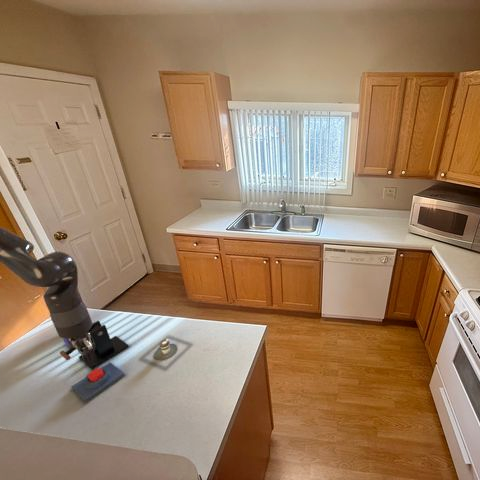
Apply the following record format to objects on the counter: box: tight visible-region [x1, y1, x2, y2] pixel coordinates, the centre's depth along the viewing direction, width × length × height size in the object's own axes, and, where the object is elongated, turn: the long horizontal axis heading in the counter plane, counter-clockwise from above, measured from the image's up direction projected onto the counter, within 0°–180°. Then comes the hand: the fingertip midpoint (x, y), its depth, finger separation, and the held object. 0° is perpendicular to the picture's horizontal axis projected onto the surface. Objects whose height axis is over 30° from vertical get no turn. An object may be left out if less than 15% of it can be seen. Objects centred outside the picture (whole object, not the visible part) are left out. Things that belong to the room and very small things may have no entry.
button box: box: [70, 362, 125, 403], centre depth 85 cm, size 11×9×3 cm
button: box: [87, 367, 104, 382], centre depth 84 cm, size 4×4×2 cm
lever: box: [59, 325, 99, 361], centre depth 88 cm, size 12×5×2 cm, turn 151°
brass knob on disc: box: [153, 338, 178, 361], centre depth 97 cm, size 12×12×5 cm
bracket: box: [78, 320, 130, 371], centre depth 93 cm, size 12×9×13 cm
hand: (89, 360), depth 81 cm, fingers closed
